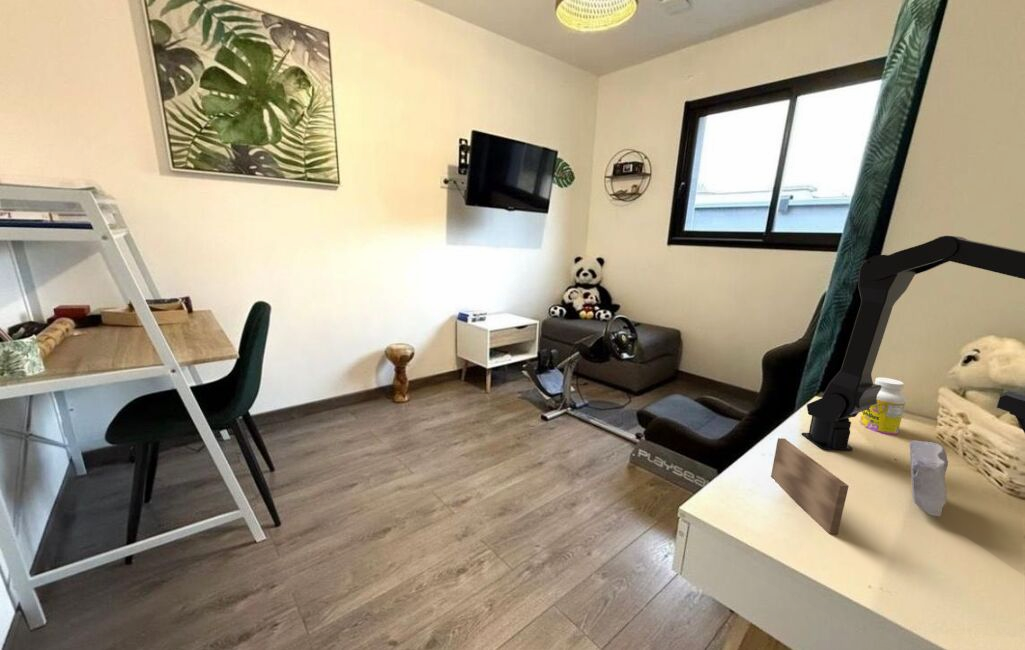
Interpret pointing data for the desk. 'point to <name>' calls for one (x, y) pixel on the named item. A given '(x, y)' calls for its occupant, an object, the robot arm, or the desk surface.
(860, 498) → the desk surface
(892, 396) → the supplement bottle
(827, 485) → the walnut plate
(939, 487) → the stone block
